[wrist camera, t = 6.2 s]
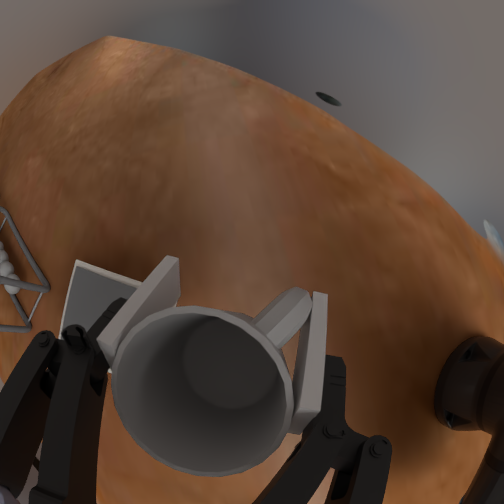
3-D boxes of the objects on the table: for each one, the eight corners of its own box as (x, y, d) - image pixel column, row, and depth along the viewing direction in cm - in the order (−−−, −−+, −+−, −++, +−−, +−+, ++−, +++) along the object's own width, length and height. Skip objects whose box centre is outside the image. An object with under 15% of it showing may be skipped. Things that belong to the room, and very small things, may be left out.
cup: (160, 357, 18) (84, 378, 9) (260, 261, 19) (250, 212, 10) (230, 429, 16) (199, 499, 7) (334, 334, 17) (388, 347, 9)
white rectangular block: (179, 293, 34) (159, 288, 28) (159, 377, 32) (137, 387, 26) (100, 267, 36) (74, 258, 30) (83, 341, 34) (56, 342, 28)
